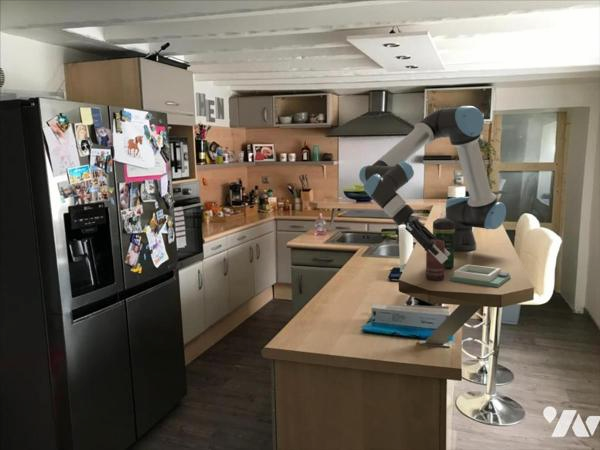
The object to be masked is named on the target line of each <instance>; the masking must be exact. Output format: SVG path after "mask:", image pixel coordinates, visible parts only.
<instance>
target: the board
mask: <svg viewBox="0 0 600 450" xmlns="http://www.w3.org/2000/svg"><path fill="white" fill-rule="evenodd" d="M453 271H454V272H453V275H450V277H449V280H450V281H453V282H459V283H465V284H466V283H467V284H473V285H479V286H487V287H493V288H499V287H500V286H501V285H503V284H504V283H506V282H507V281H508V280H510V279H511V274H510V273H509V272H506V271H505V272H504V271H502V268H501V267H500V268H499V267H491V266H485V265H484V266H483V265H475V264H464V265H462V266H461V267H459V268H457V269H456V270H453Z"/></svg>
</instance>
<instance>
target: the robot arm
mask: <svg viewBox="0 0 600 450" xmlns="http://www.w3.org/2000/svg"><path fill="white" fill-rule="evenodd" d="M484 119H485V118H484V115H483V114H482V112H481V111H480V109H478V108H477V107H475V106H472V105H462V106H456V107H455V106H454V107H447V108H439V109H437V110H435V111H433V112H431V113H430V114H428V115H427V116H425V117H424V118H422V119H421V120H420V121H419V122H417V123H416V124H415V125H414V128H413V130H412V131H411V132H409V133H408V134H407V135H406V136H405V137H403V138H402V139H401V140H400V141H398V142H397V143H396V144H395V145H394V146H393V147H392V148H390V149H389V150H388V151H387V152H386V153H384V154H383V155H382V156H381V157H380V158H378V160H377V161H375V162H374V163H373V164H371V165H369V164H368V165H365V166H363V167H361V169H360V171H359V175H358V176H359V181H360V182H361V183H362V184H363V186H362V188H363V190H364V191H365V193H366V194H367V195H368V196H369V197H370V198H371V199H372V201H374V202H375V203H376V204H377V205H378V206H379V207H380V209H382V210H383V212H384V214H385V215H386V214H387V216H389V217H390V218H391V217H392V221H393V222H394V223H395V224H396V225H397V226H401V225H404V226H405V227H404V229H405V230H406V231H407V232H408V233H409V234H410V235H411V236H412V238H414V239H415V240H416V242H417V243H418V244H419V245H420V246H421V247H422V248H423V249H424V251H425V252H426V251H427V250H429V252H430V253H431V254H432V255H433V256H434V257H435V258H436V259H437V260H438V261H439V262H440V263H441V264H442V263H443V262H444V261H446V260H447V259H448V258H447V257H448V256H449V255H450V253H449V252H448V251H447V250H446V249H445V255H444V254H443V253H442V252H441V251H440V250H439V249H438V248H437V247H436V246H435V245H433V244H432V243H431V242H430V240H429V239H438V237H437V238H436V237H435V236H434V235H433V232H431V231H430V230H429V229H428V228H427V227H426V226H425V225H424V224H423V223H422V222H421V221H420V220H419V218H414V217H413V216H412V215H413V214H414V213H415V210H414V209H413V208H412V207H411V206H410V205H409V204H406V200H404V199H403V198H402V197H401V196H400V195H399V193H397V192H398V190H400V189H401V188H402V187H403V186H404V185H406V184H407V183H409V181H410V180H411V179H413V177H414V175H415V174H414V173H415V170H414V169H413V167H412V165H411V164H410V163H409V162H408V160H410V158H411V157H412V156H414V155H415V154H416V153H417V152H418V151H419V150H421V148H423V147H424V146H425V145H426V144H427V145H428V144H431V143H432V142H434V141H435V140H438V139H442V138H449V141H450V145H451V146H452V147H455V148H456V152H457V156H458V158H459V162H460V165H461V166H460V167H461V170H462V173H463V178H464V180H465V184H466V187H467V188H466V189H467V191H468V192H467V193H468V196H462V197H452V198H448V199H447V200H446V201H445V218H446V219H448V220H450V221H452V222H454V223H455V240H454V252H467V251H474V250H477V242H476V239H475V235H474V232H473V231H474V230H473V228H478V229H485V230H496V229H499V228H500V227H502V225H503V223H504V221H505V218H506V215H507V208H506V206H505V204H504V203H503V202H501V201H498V198H497V195H496V194H495V193H493V192H492V191H491V187H490V182H489V177H488V175H487V171H486V167H485V163H484V159H483V155H482V152H481V148H480V145H479V140H480V138H481V136H482V135H481V134H482V132H483V131H484V128H485V127H484V125H485V120H484ZM432 245H433V246H432Z"/></svg>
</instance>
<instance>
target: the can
mask: <svg viewBox="0 0 600 450" xmlns="http://www.w3.org/2000/svg"><path fill="white" fill-rule="evenodd" d="M429 240H430V242H431V243H432V244H433V245H435V246H436V247H437V248H438V249H439V250H440V251H441V252H442V253H443V254H444V255H445V242H444V240H443V239H429ZM433 245H432V246H433ZM425 254H426V258H425V260H426V261H425V262H426V264H425V278H426V279H427V280H429V281H432V282H438V281H439V282H441V281H444V279H445V269H444V262H443V263H442V264H441V263H440V262H439V261H438V260H437V259H436V258H435V257H434V256H433V255H432V254H431V253H430V252H429V250H427V251H425Z"/></svg>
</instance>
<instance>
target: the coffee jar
mask: <svg viewBox="0 0 600 450" xmlns="http://www.w3.org/2000/svg"><path fill="white" fill-rule="evenodd" d="M432 234H433V235H434V236H435V237H436V238H437V237H438V239H443V240H444V242H445V249H446V250H447V251H448V252H449V253H450V255H449V256H448V257H447V258H448V259H447V260H446V261H444V270H447V269H453V268H454V266H455V251H454V240H455V223H454V222H452V221H450V220H448V219H446V217H445V218H443V217H442V218H436V219H435V220H433V222H432Z"/></svg>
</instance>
